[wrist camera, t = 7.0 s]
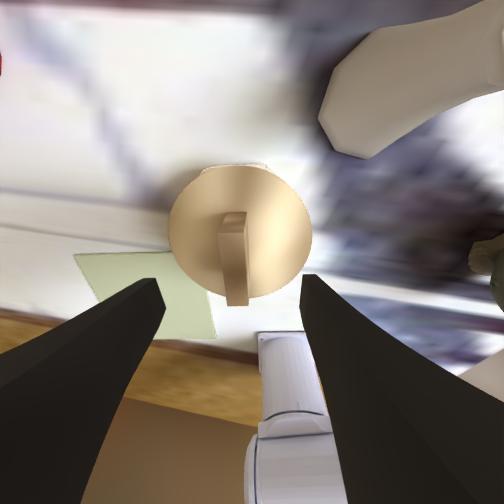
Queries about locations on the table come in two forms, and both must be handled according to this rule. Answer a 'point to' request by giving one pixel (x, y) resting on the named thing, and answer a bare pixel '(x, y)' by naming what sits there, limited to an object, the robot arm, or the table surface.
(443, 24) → the flask
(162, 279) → the mat
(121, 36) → the table surface
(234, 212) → the lid
